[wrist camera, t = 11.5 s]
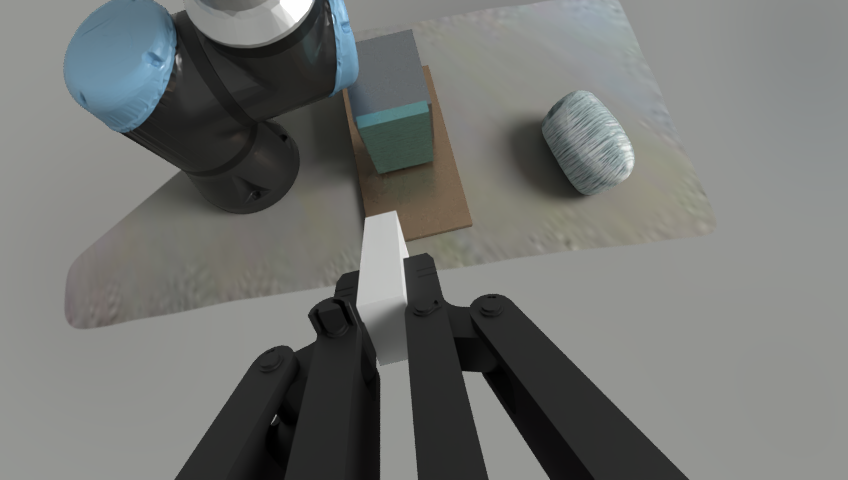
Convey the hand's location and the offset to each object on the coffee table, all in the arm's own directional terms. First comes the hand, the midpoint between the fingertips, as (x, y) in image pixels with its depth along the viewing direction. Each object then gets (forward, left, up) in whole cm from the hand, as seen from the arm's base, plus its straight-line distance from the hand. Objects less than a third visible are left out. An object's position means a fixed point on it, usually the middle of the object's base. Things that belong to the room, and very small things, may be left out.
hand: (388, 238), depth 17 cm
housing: (-10, +19, -29) cm, 36 cm away
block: (-12, +23, -27) cm, 37 cm away
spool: (+14, +25, -29) cm, 41 cm away
